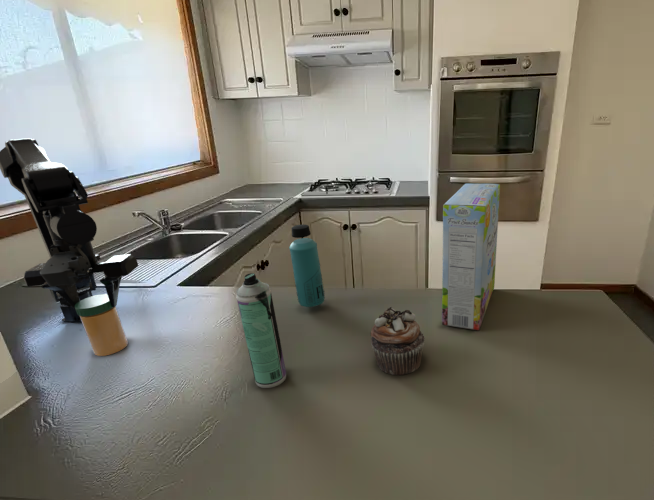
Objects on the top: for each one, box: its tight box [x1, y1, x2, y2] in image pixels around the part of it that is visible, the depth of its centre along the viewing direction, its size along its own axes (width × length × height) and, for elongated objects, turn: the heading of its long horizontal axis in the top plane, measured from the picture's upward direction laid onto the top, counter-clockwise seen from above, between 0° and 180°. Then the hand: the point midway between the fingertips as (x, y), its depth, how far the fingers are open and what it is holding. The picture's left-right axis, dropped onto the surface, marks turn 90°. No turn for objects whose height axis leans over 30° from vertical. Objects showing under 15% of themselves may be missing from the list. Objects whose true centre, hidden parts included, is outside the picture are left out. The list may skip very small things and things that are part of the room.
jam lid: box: [75, 293, 113, 316], centre depth 86 cm, size 7×7×2 cm
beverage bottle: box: [288, 223, 326, 308], centre depth 97 cm, size 6×7×20 cm
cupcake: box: [370, 306, 426, 376], centre depth 75 cm, size 10×10×10 cm
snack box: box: [441, 183, 501, 331], centre depth 90 cm, size 22×9×26 cm, turn 158°
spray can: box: [235, 272, 287, 389], centre depth 71 cm, size 6×6×20 cm
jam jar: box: [80, 305, 129, 357], centre depth 88 cm, size 6×6×10 cm
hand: (96, 308), depth 86 cm, fingers closed on jam lid, 7 cm apart
